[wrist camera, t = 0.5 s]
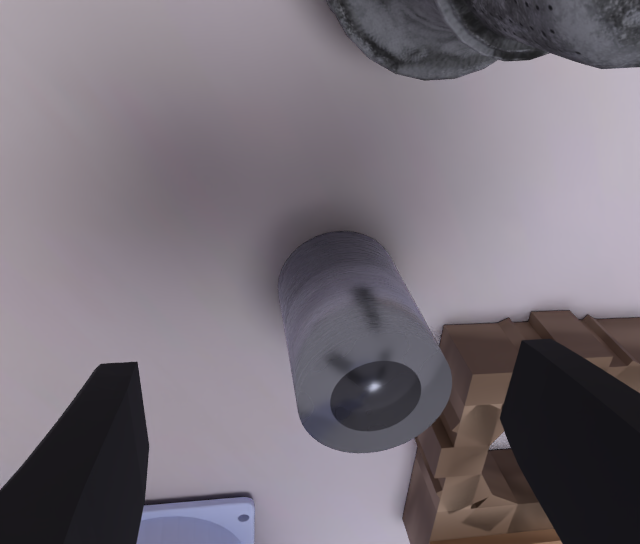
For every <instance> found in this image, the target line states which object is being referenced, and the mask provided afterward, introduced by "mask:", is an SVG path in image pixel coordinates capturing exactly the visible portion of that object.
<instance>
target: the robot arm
mask: <svg viewBox="0 0 640 544" xmlns="http://www.w3.org/2000/svg"><path fill="white" fill-rule="evenodd" d="M500 421H501V424H502V426H503V429H504V431H505V434H506V437H507V439H508V442H509V444H510V447H511V449H512V451H513V454H514V456H515V458H516V461H517V463H518V465H519V467H520V469H521V471H522V473H523V475H524V477H525V478H526V480H527V482H528V484H529V485H530V487H531V489H532V491H533V493H534V494H535V496H536V498H537V500H538V502H539V503H540V505H541V507H542V509H543V510H544V512H545V514H546V515H547V517H548V519H549V521H550V522H551V524H552V526H553V528H554V529H555V531H556V533H557V535H558V536H559V538H560V540H561V542H562V543H563V544H640V393H639V392H637V391H636V390H634V389H632V388H631V387H629V386H628V385H626V384H625V383H623V382H621V381H620V380H618V379H617V378H615V377H614V376H612V375H610V374H609V373H607V372H606V371H604V370H602V369H601V368H599V367H598V366H596V365H595V364H593V363H591V362H590V361H588V360H587V359H585V358H583V357H582V356H580V355H578V354H577V353H575V352H574V351H572V350H570V349H568V348H567V347H565V346H563V345H562V344H560V343H558V342H556V341H554V340H552V339H535V340H522V341H521V344H520V348H519V351H518V355H517V358H516V362H515V365H514V369H513V373H512V376H511V380H510V383H509V387H508V390H507V394H506V397H505V401H504V404H503V408H502V411H501V415H500ZM148 454H149V442H148V435H147V427H146V420H145V413H144V406H143V399H142V391H141V384H140V377H139V370H138V363H137V362H125V363H107V364H100V365H99V366H98V367H97V368H96V369H95V370H94V372H93V373H92V374H91V376H90V377H89V379H88V380H87V382H86V383H85V384H84V386H83V387H82V389H81V390H80V391H79V393H78V394H77V396H76V397H75V398H74V400H73V401H72V402H71V404H70V405H69V406H68V408H67V409H66V410H65V412H64V413H63V414H62V416H61V417H60V418H59V420H58V421H57V422H56V424H55V425H54V426H53V427H52V429H51V430H50V431H49V432H48V434H47V435H46V436H45V437H44V439H43V440H42V441H41V442H40V444H39V445H38V446H37V447H36V449H35V450H34V451H33V452H32V454H31V455H30V456H29V457H28V459H27V460H26V461H25V462H24V463H23V465H22V466H21V467H20V468H19V469H18V470H17V472H16V473H15V474H14V475H13V476H12V477H11V478H10V480H9V481H8V482H7V483H6V484H5V485H4V486H3V487H2V489H1V490H0V544H254V517H255V508H254V501H253V500H252V499H251V498H248V497H237V498H225V499H213V500H202V501H190V502H179V503H167V504H156V505H144V502H145V491H146V480H147V467H148Z"/></svg>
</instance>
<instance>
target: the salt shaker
mask: <svg viewBox="0 0 640 544" xmlns="http://www.w3.org/2000/svg"><path fill="white" fill-rule="evenodd" d="M326 2H327V4H328V5H329V7H330V9H331V11H332V12H333V13H334V14H335V15H336V17H337V19H338V20H339V22H340V24H341V26H342V28H343V30H344V32H345V33H346V35H347V36H348V37H349V38H350V39H351V40H352V41H353V42H354V43H355V44H356V45H357V46H358V48H359V49H360V50H361V51H362V52H363V53H364V54H365V55H366V56H367V57H368V58H369V59H371V60H373V61H374V62H376V63H378V64H380V65H381V66H383V67H385V68H387V69H388V70H390V71H392V72H393V73H395V74H399V75H403V76H407V77H412V78H416V79H420V80H441V79H455V78H458V77H461V76H464V75H467V74H470V73H473V72H476V71H479V70H482V69H484V68H486V67H487V66H489V65H491V64H492V63H494V62H495V61H497V60H502V61H520V60H531V59H534V58H537V57H540V56H543V55H546V54H549V53H552V54H555V55H558V56H561V57H564V58H566V59H569V60H572V61H575V62H578V63H582V64H585V65H589V66H593V67H596V68H600V69H611V68H630V67H640V0H326Z"/></svg>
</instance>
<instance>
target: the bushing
mask: <svg viewBox="0 0 640 544" xmlns="http://www.w3.org/2000/svg"><path fill="white" fill-rule="evenodd" d="M278 294H279V300H280V306H281V312H282V318H283V324H284V330H285V336H286V342H287V348H288V354H289V360H290V366H291V372H292V378H293V384H294V390H295V395H296V401H297V407H298V413H299V417H300V420H301V422H302V425H303V426H304V428H305V429H306V431H307V432H308V433H309V434H310V435H311V436H312V437H313V438H314V439H315V440H317V441H318V442H320V443H321V444H323V445H325V446H327V447H330V448H332V449H335V450H339V451H343V452H349V453H370V452H378V451H383V450H387V449H390V448H393V447H396V446H399V445H401V444H404V443H406V442H408V441H410V440H412V439H413V438H415V437H416V436H418V435H420V434H421V433H422V432H424V431H425V430H426V429H427V428H429V427H430V426H431V425H432V424H433V423H434V422H435V421H436V419H437V418H438V417H439V416H440V415H441V413H442V412H443V410H444V408H445V407H446V405H447V402H448V400H449V397H450V394H451V389H452V375H451V370H450V367H449V364H448V362H447V360H446V359H445V357H444V355H443V353H442V351H441V349H440V347H439V346H438V344H437V342H436V340H435V338H434V336H433V335H432V333H431V331H430V329H429V327H428V325H427V323H426V322H425V320H424V318H423V316H422V314H421V312H420V311H419V309H418V307H417V305H416V303H415V301H414V299H413V298H412V296H411V294H410V292H409V290H408V288H407V287H406V285H405V283H404V281H403V279H402V277H401V275H400V274H399V272H398V270H397V268H396V266H395V264H394V263H393V261H392V259H391V257H390V255H389V254H388V252H387V251H386V250H385V248H384V247H383V246H382V245H380V244H379V243H378V242H377V241H375V240H374V239H372V238H370V237H368V236H366V235H363V234H360V233H355V232H348V231H338V232H330V233H326V234H322V235H319V236H317V237H314V238H312V239H310V240H309V241H307V242H305V243H304V244H302V245H301V246H300V247H298V248H297V249H296V250H295V251H294V252H293V253H292V254H291V255H290V257H289V258H288V259H287V261H286V262H285V264H284V266H283V268H282V270H281V273H280V276H279V281H278Z"/></svg>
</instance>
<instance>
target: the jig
mask: <svg viewBox="0 0 640 544" xmlns="http://www.w3.org/2000/svg"><path fill="white" fill-rule="evenodd" d="M535 339H552V340H554V341H556V342H558V343H560V344H562V345H563V346H565V347H567V348H568V349H570V350H572V351H574V352H575V353H577V354H578V355H580V356H582V357H583V358H585V359H587V360H588V361H590V362H591V363H593V364H595V365H596V366H598V367H599V368H601V369H602V370H604V371H606V372H607V373H609V374H610V375H612V376H614V377H615V378H617V379H618V380H620V381H621V382H623V383H625V384H626V385H628V386H629V387H631V388H632V389H634V390H636V391H637V392H639V393H640V318H617V319H594V318H593V317H591V316H589V315H587V316H586V317H585V318H584V319H583V320H578V319H577V318H576V317H575V316H574V315H573V314H572V313H571V311H570V310H569V311H541V312H531V315H530V318H529V321H528V322H514V323H513V322H512V321H511V319H510V318H507V319H505V320H503V321H501V322H499V323H488V324H462V325H444V327H443V332H442V336H441V341H440V346H439V347H440V349H441V351H442V353H443V355H444V357H445V359H446V360H447V362H448V364H449V367H450V370H451V375H452V389H451V394H450V397H449V400H448V402H447V405H446V407H445V408H444V410H443V412H442V413H441V415H440V416H439V417H438V418H437V419H436V421H435V422H434V423H433V424H432V425H431V426H430V427H429V428H427V429H426V430H425V431H424V432H422V433H421V434H420V435H418V436H417V437H415V440H416V443H417V446H418V448H417V453H416V457H415V462H414V467H413V471H412V476H411V481H410V485H409V490H408V495H407V499H406V504H405V509H404V513H403V518H402V519H403V522H404V525H405V528H406V531H407V535H408V538H409V541H410V544H563V543H562V542H561V540H560V538H559V536H558V535H557V533H556V531H555V529H554V528H553V526H552V524H551V522H550V521H549V519H548V517H547V515H546V514H545V512H544V510H543V509H542V507H541V505H540V503H539V502H538V500H537V498H536V496H535V494H534V493H533V491H532V489H531V487H530V485H529V484H528V482H527V480H526V478H525V477H524V475H523V473H522V471H521V469H520V467H519V465H518V463H517V461H516V458H515V456H514V454H513V451H512V449H503V450H489V447H490V445H491V444H492V443H493V442H494V441H495V440H496V439H497V438H498V437H499V436H500V435H501V434H502V433H503V432H504V429H503V426H502V424H501V421H500V415H501V411H502V408H503V404H504V401H505V397H506V394H507V390H508V387H509V383H510V380H511V376H512V373H513V369H514V365H515V362H516V358H517V355H518V351H519V348H520V344H521V341H522V340H535Z"/></svg>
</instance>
